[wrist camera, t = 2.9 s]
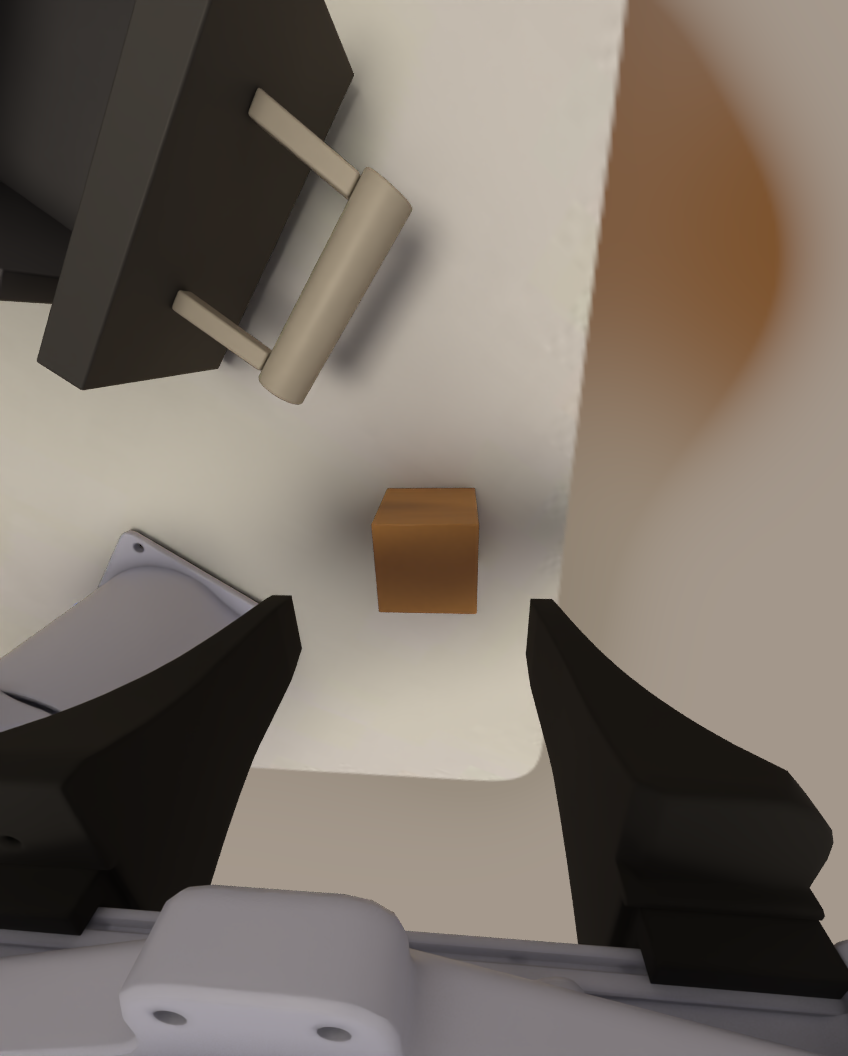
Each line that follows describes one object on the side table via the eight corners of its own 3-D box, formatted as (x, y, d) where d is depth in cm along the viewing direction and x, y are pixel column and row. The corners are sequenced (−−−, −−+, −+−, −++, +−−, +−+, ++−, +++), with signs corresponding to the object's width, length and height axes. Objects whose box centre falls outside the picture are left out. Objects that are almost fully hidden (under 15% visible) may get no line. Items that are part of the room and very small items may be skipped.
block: (473, 565, 21) (476, 614, 17) (392, 564, 21) (378, 612, 18) (475, 487, 19) (478, 524, 16) (386, 487, 19) (370, 523, 16)
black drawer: (464, 173, 14) (470, 47, 8) (309, 432, 18) (231, 487, 12) (-71, -310, 11) (-809, -1204, 4) (-114, 138, 14) (-536, -2, 8)
